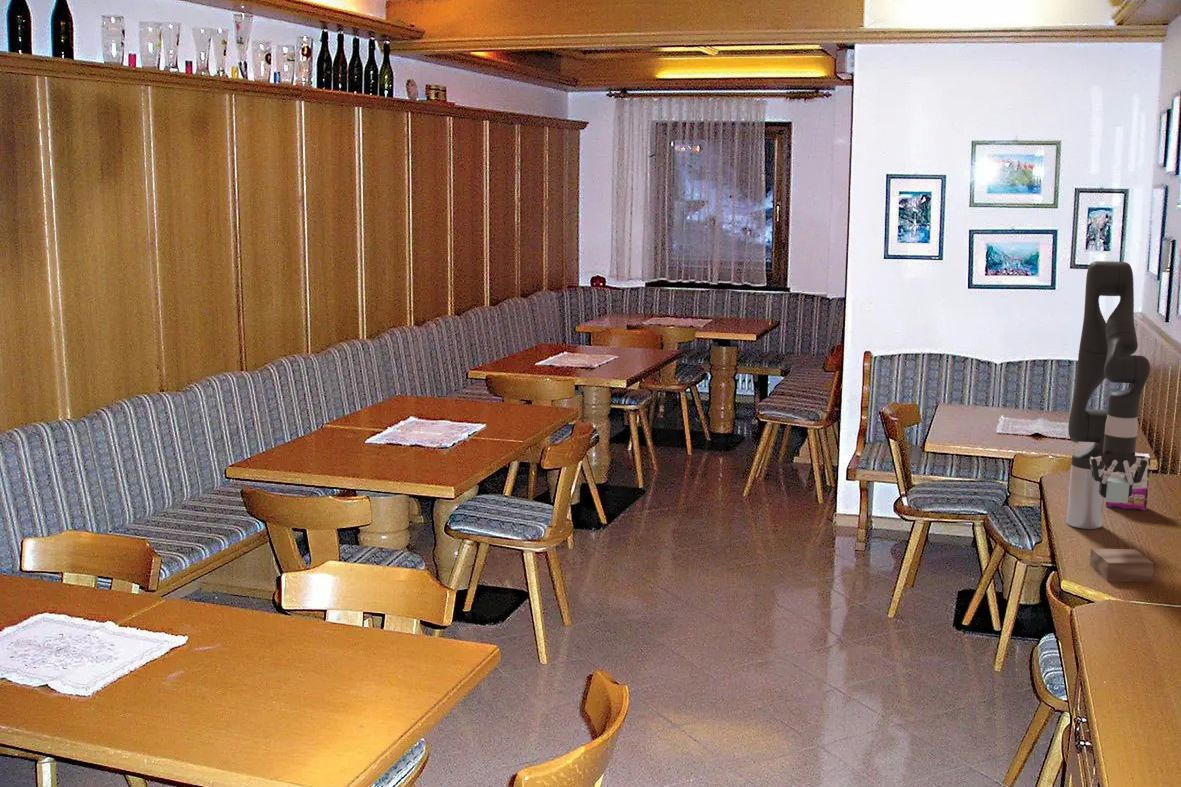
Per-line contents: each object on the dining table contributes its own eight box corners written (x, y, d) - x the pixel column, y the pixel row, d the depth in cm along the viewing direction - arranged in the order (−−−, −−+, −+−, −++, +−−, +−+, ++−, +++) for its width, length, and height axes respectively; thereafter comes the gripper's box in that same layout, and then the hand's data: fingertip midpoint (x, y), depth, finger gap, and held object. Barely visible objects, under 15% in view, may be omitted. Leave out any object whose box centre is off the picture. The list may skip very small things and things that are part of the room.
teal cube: (1101, 496, 311) (1103, 477, 310) (1122, 497, 310) (1123, 478, 309) (1107, 502, 306) (1108, 483, 305) (1127, 502, 305) (1129, 483, 304)
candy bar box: (1145, 506, 358) (1150, 453, 355) (1146, 511, 354) (1151, 457, 350) (1104, 502, 362) (1109, 449, 359) (1105, 507, 358) (1110, 453, 355)
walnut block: (1089, 567, 305) (1091, 548, 304) (1133, 568, 305) (1134, 549, 304) (1106, 582, 294) (1108, 562, 293) (1152, 582, 294) (1153, 563, 293)
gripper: (1146, 430, 307) (1139, 494, 310) (1087, 428, 309) (1081, 492, 312) (1155, 437, 300) (1148, 502, 303) (1095, 435, 302) (1089, 500, 305)
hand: (1114, 497), depth 308 cm, fingers closed on teal cube, 5 cm apart
